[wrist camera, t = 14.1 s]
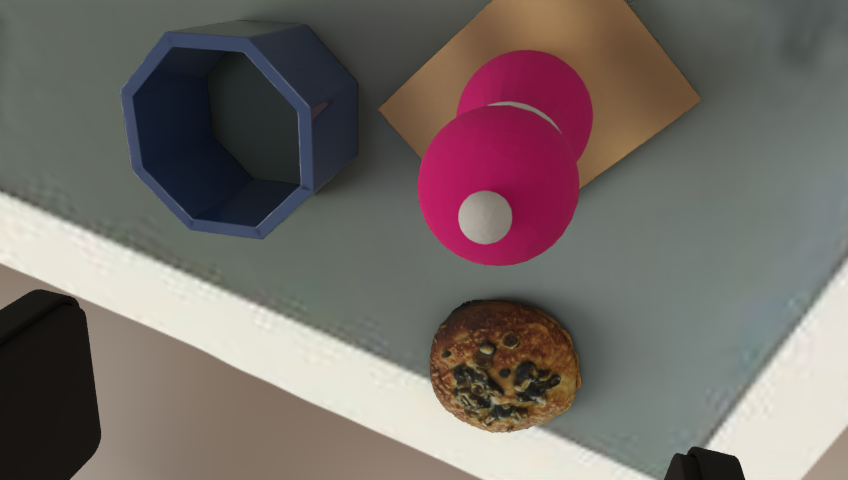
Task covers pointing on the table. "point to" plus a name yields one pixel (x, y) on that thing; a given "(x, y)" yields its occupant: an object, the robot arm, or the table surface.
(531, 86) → the pepper mill
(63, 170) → the table surface
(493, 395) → the bread roll
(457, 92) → the oak board
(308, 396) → the table surface
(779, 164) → the table surface
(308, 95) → the utensil crock
